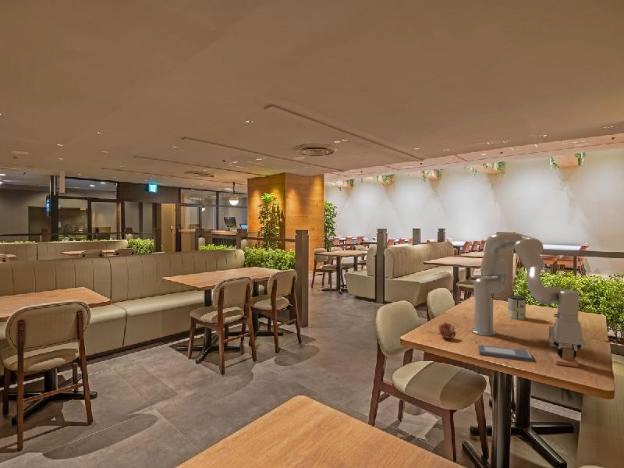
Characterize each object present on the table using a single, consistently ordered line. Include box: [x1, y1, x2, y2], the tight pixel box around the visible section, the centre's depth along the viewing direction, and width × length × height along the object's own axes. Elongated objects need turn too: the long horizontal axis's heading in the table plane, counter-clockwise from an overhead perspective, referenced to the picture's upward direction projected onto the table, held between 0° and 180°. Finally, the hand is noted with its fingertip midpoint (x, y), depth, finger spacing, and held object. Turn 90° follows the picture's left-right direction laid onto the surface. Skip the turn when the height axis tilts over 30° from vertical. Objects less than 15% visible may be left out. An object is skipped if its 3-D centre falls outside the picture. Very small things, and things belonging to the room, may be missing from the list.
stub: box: [550, 345, 579, 368], centre depth 163 cm, size 10×8×6 cm
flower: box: [438, 321, 457, 340], centre depth 195 cm, size 10×9×8 cm
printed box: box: [548, 326, 566, 349], centre depth 182 cm, size 4×7×10 cm, turn 55°
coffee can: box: [507, 294, 527, 321], centre depth 235 cm, size 10×10×14 cm
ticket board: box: [477, 344, 534, 363], centre depth 172 cm, size 10×22×2 cm, turn 68°
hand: (566, 357), depth 162 cm, fingers closed on stub, 4 cm apart
